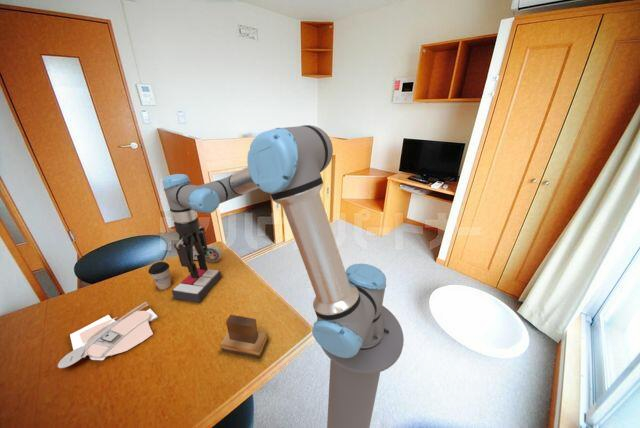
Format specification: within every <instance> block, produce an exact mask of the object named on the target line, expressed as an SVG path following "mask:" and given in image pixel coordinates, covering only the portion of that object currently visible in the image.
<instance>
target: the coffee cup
mask: <svg viewBox="0 0 640 428" xmlns="http://www.w3.org/2000/svg"><path fill="white" fill-rule="evenodd" d="M170 271H171V270H170V264H169V263H168V262H165V261H158V262H155V263H153V264H152V265H150V267H149V268H148V274H149V275H150V276H151V278H152V280H153V282H154V283H155V285H156V287H157V288H158V290H167V289H168V288H170V287H171V286H172V279H171V274H170V273H171V272H170Z"/></svg>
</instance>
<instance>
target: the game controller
mask: <svg viewBox="0 0 640 428" xmlns="http://www.w3.org/2000/svg"><path fill="white" fill-rule="evenodd" d="M207 247H208V250H207V251H205V252H207V255H205V258H206V261H208V262H210V263H217V262H218V261H220V259H221V258H222V254H223V253H222V251H221V249H220V248H219V247H218V246H216V245H209V244H207ZM197 255H199V254H198V253H197V251H196V249H195V247H193V261H198V259H197Z"/></svg>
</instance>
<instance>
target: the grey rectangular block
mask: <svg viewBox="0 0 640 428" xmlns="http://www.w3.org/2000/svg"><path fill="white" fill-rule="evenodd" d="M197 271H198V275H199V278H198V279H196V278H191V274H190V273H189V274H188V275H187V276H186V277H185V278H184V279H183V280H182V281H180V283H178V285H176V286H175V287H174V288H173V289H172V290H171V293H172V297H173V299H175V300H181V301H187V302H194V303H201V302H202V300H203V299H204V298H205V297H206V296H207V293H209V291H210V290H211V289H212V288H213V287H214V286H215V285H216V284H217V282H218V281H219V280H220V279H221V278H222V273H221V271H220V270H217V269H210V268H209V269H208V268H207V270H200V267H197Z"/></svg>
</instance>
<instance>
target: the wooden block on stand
mask: <svg viewBox="0 0 640 428" xmlns="http://www.w3.org/2000/svg"><path fill="white" fill-rule="evenodd" d="M225 323H226V329H227V332H226V334H225V335H224V336H223V339H222V340H221V341H220V347H221V352H224V353H229V354H234V355H239V356H243V357H247V358H248V357H249V358H253V359H258V360H260V359H261V357H262V355H263V352H264V350H265V348H266V346H267V344H268V340H269V339H268V333H267V332H265V331H258V325H257V319H256V318H251V317H246V316H240V315H235V314H230V315H229V316H228V318H227V319H226V320H225Z"/></svg>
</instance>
